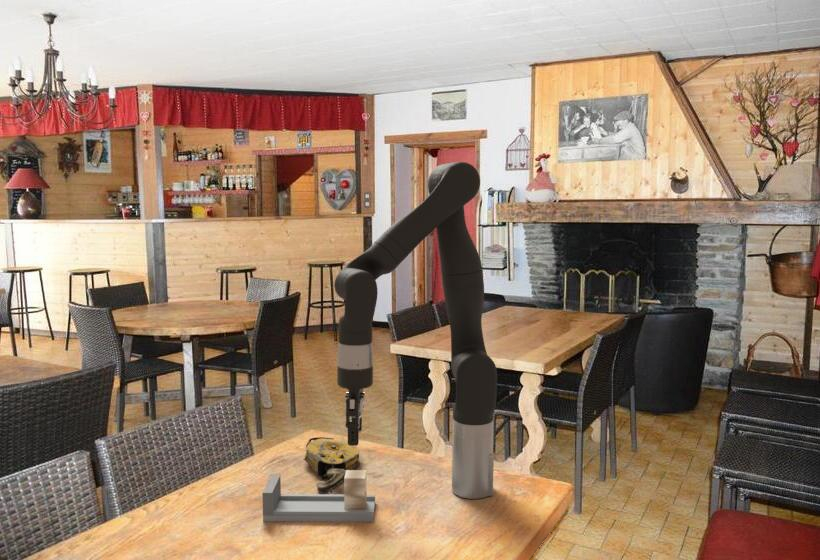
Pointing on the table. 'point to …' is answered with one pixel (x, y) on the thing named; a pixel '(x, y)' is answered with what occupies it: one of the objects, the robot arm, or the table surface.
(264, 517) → the rail
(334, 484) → the pulley block
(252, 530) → the table surface
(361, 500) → the block
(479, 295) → the robot arm
